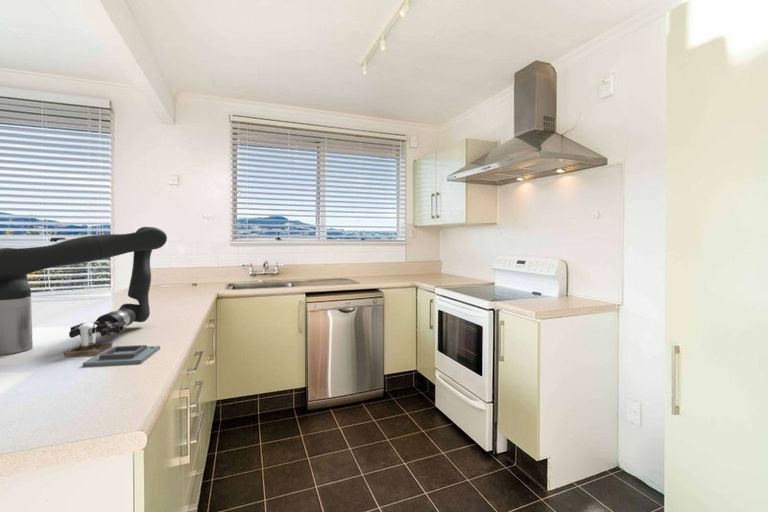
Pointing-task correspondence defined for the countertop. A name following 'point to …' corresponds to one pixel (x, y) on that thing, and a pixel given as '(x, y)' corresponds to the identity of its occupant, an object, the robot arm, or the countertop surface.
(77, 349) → the square wooden frame
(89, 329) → the milkshake
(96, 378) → the countertop surface
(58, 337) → the countertop surface
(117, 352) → the port plate
